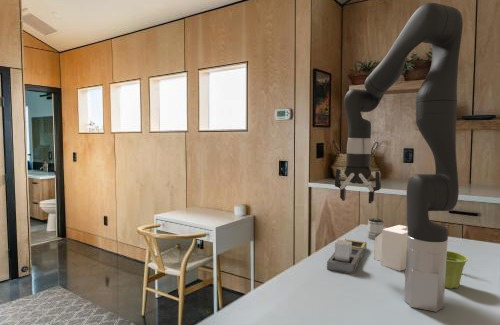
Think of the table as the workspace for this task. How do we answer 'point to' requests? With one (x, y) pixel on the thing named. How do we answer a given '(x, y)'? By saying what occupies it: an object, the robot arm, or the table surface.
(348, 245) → the pale grey square box
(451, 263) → the plant pot
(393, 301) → the table surface
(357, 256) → the rail
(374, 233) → the camera lens
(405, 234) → the white angular block
